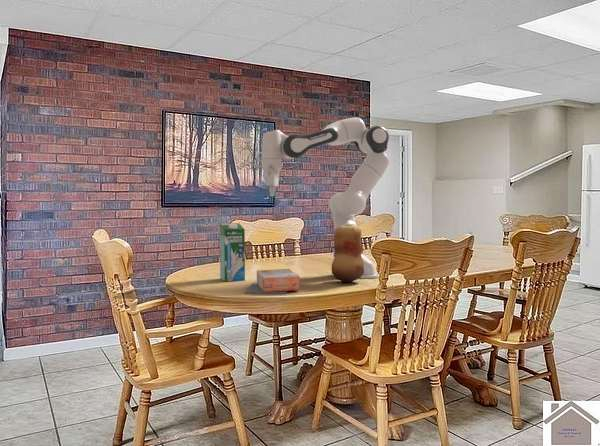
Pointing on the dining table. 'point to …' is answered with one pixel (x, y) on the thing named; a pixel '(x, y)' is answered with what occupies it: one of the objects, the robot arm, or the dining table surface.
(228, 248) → the milk carton
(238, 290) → the dining table surface
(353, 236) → the butternut squash
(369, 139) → the robot arm
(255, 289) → the mat
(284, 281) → the cracker box
